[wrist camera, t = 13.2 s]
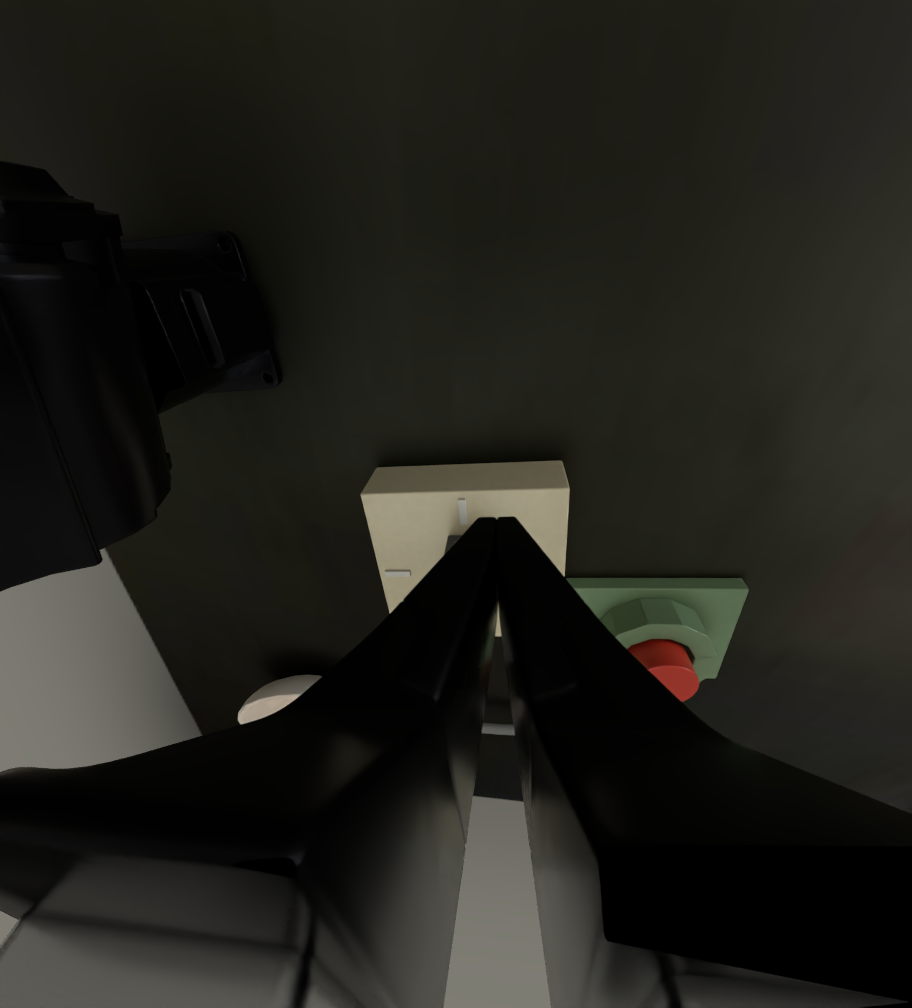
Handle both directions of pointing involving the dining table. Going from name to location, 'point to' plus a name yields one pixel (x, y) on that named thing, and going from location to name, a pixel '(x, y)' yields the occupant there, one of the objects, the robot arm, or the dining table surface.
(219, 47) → the dining table surface
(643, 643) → the button
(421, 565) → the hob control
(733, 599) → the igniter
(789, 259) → the dining table surface
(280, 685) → the ladle
